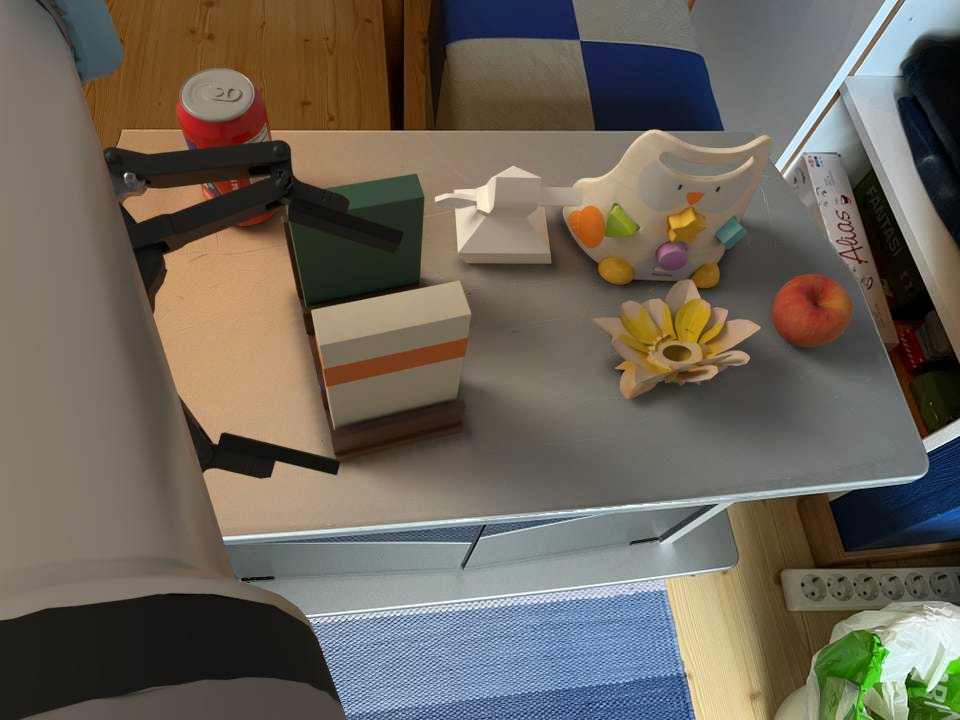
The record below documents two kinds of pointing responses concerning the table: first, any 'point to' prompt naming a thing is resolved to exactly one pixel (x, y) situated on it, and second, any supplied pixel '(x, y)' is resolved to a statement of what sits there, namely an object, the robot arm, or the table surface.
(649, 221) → the shape sorter
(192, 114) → the soda can
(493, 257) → the white angular piece
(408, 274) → the green book
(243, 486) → the table surface
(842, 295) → the apple
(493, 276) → the table surface
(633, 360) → the decorative flower
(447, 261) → the table surface
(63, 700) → the robot arm
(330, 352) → the book
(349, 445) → the book rack
